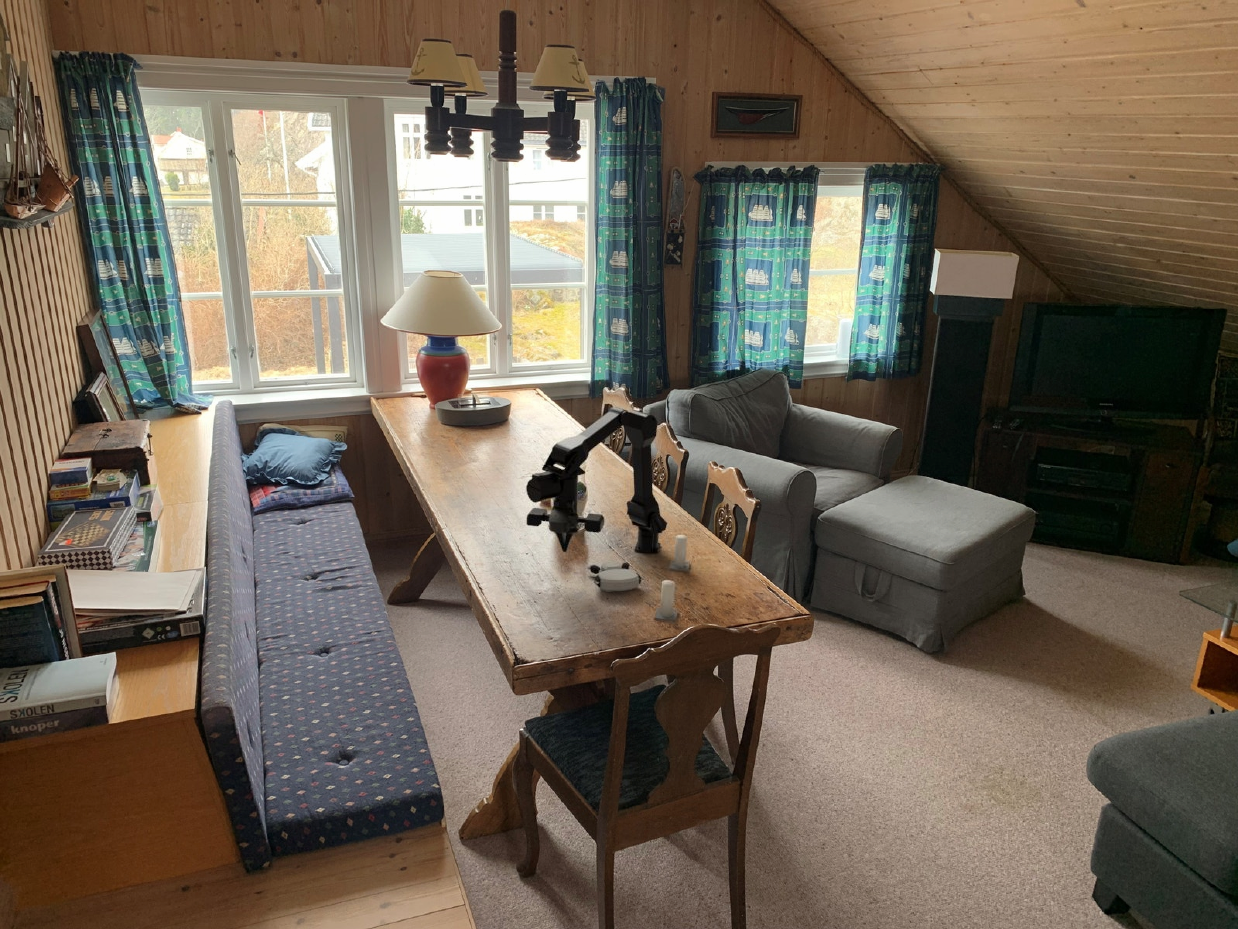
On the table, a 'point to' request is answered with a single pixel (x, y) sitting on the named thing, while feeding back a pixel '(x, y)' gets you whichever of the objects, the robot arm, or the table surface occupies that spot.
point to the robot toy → (615, 576)
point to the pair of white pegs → (668, 586)
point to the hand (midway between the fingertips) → (564, 551)
